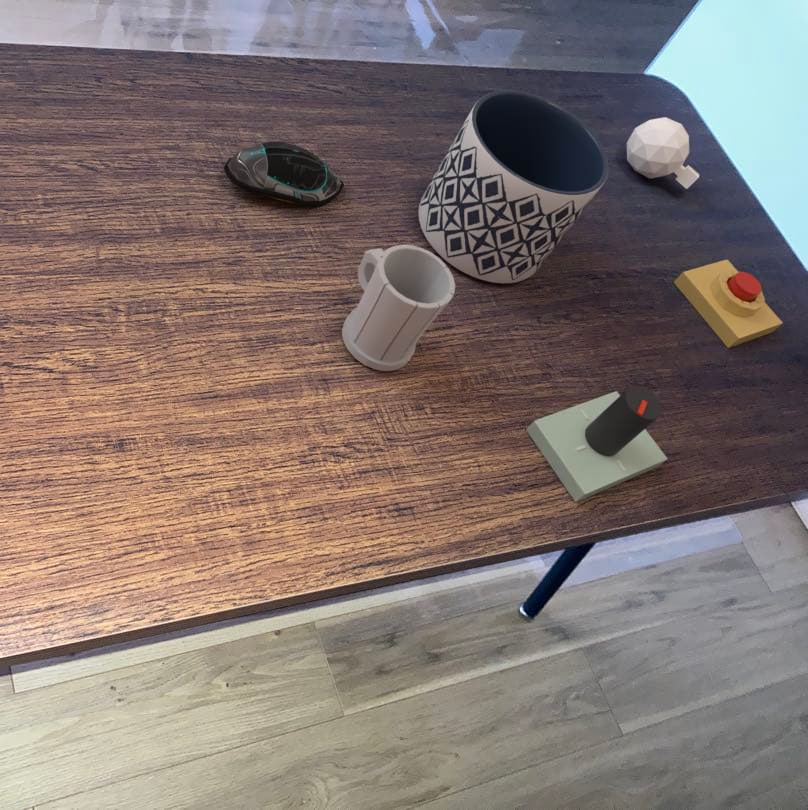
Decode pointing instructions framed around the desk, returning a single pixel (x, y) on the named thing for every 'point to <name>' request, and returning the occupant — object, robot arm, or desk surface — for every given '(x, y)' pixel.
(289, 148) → the computer mouse
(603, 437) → the dial
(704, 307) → the power box
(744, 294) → the power button
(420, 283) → the cup
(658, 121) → the perfume bottle
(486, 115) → the planter
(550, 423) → the control panel
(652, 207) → the desk surface
